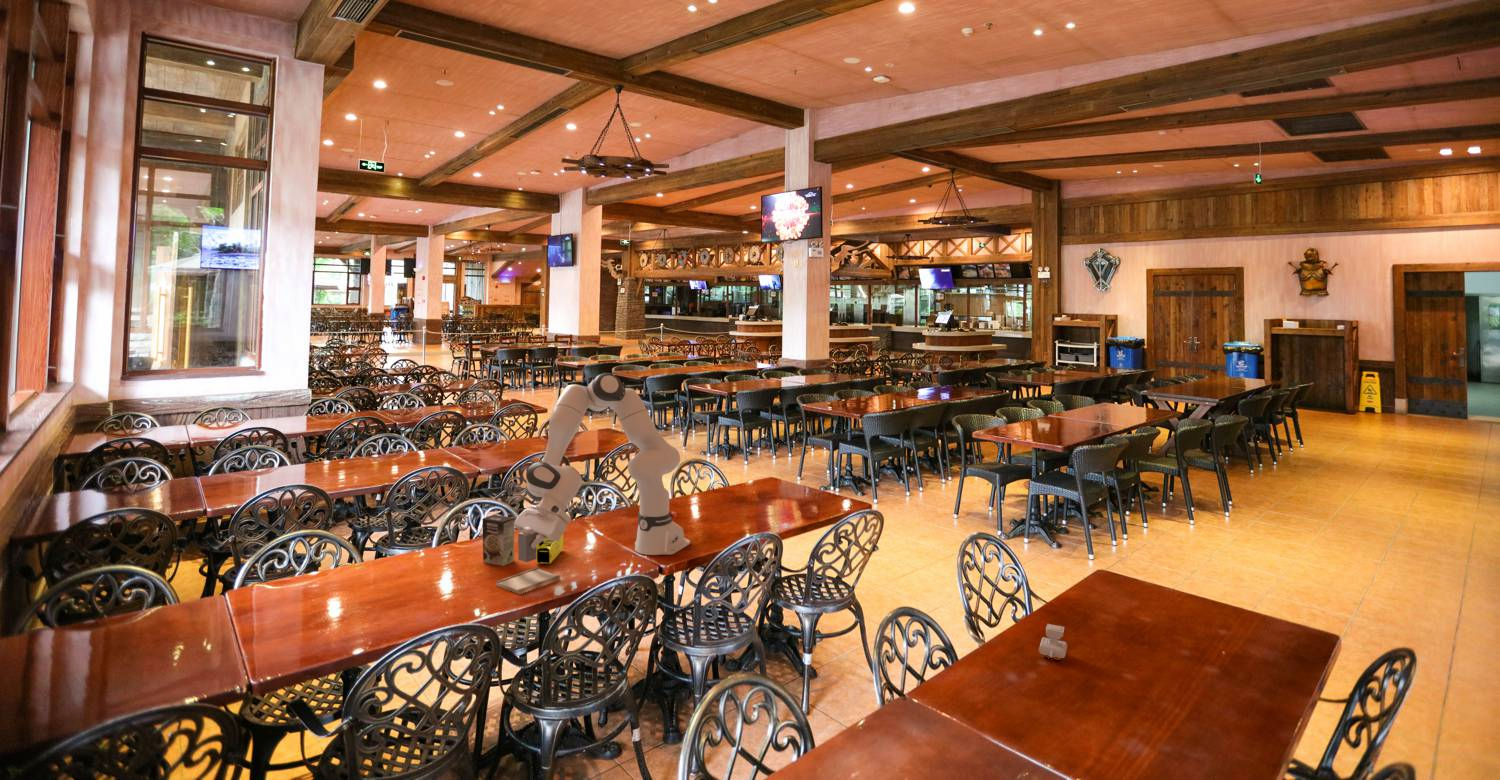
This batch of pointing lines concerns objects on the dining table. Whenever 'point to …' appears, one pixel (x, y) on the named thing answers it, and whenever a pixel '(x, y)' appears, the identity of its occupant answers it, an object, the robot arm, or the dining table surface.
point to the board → (527, 580)
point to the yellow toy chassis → (548, 550)
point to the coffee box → (498, 540)
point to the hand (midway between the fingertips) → (525, 545)
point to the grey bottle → (526, 545)
